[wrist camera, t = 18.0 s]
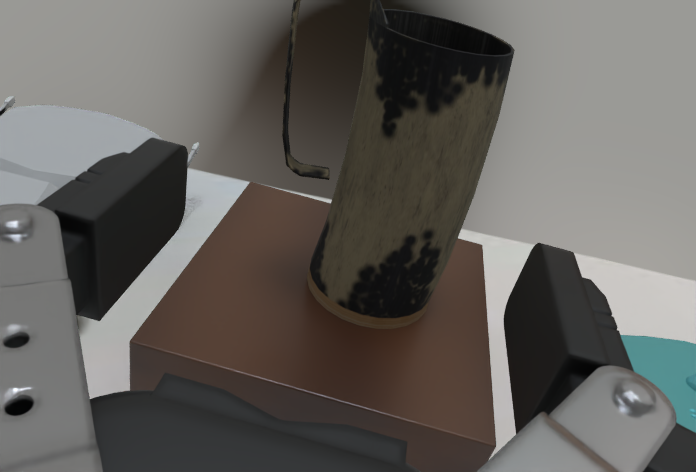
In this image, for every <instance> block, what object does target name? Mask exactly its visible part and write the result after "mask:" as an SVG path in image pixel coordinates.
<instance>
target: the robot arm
mask: <svg viewBox="0 0 696 472" xmlns="http://www.w3.org/2000/svg"><path fill="white" fill-rule="evenodd" d="M187 165H188V152H187V149H186V147H185V146H183V145H179V144H175V143H171V142H167V141H164V140H160V139H157V138H149V139H148V140H147V141H145V142H144V143H143V144H141V145H140V146H139V147H137V148H136V149H135V150H133V151H132V152H131V153H126V152H122V153H118V154H115V155H112V156H108V157H105V158H102V159H101V160H99V161H98V162H96V163H95V164H94V165H92V166H91V167H89V168H88V169H87V171H84V172H82V173H81V174H80V175H78V176H77V177H75V180H71V181H70V182H68V183H67V184H65V185H64V186H63V187H61V188H60V189H58V190H57V191H56V192H54V193H53V194H51V195H50V196H49V197H47V198H46V199H44V200H43V201H41V202H40V203H39V204H37V205H33V204H22V203H16V204H4V205H0V472H421V471H419V470H418V469H416V468H415V467H413V466H412V465H410V464H408V463H406V452H407V441H404V440H400V439H397V438H393V437H390V436H386V435H383V434H379V433H376V432H372V431H369V430H365V429H362V428H358V427H354V426H351V425H347V424H332V423H315V422H299V421H285V420H281V419H278V418H276V417H274V416H272V415H270V414H268V413H266V412H265V411H263V410H261V409H259V408H257V407H255V406H254V405H252V404H250V403H248V402H246V401H244V400H243V399H241V398H239V397H237V396H235V395H234V394H232V393H230V392H228V391H226V390H224V389H221V388H218V387H214V386H211V385H207V384H204V383H200V382H197V381H193V380H190V379H186V378H183V377H179V376H176V375H172V374H169V373H165V374H164V375H163V377H162V378H161V380H160V381H159V383H158V385H157V386H156V388H155V389H154V390H137V391H125V392H117V393H112V394H108V395H103V396H99V397H96V398H93V399H89V393H88V386H87V380H86V374H85V368H84V361H83V355H82V349H81V343H80V336H79V330H78V324H77V317H76V315H80V316H83V317H87V318H90V319H94V320H97V321H100V320H101V319H102V317H103V316H104V315H105V314H106V313H107V312H108V310H109V309H110V308H111V307H112V306H113V305H114V303H115V302H116V301H117V300H118V299H119V298H120V297H121V295H122V294H123V293H124V292H125V291H126V290H127V288H128V287H129V286H130V285H131V284H132V283H133V281H134V280H135V279H136V278H137V277H138V276H139V275H140V273H141V272H142V271H143V270H144V269H145V268H146V266H147V265H148V264H149V263H150V262H151V261H152V259H153V258H154V257H155V256H156V255H157V254H158V253H159V251H160V250H161V249H162V248H163V247H164V246H165V244H166V243H167V242H168V241H169V240H170V239H171V237H172V236H173V235H174V234H175V233H176V231H177V230H178V228H179V226H180V224H181V222H182V219H183V216H184V211H185V201H186V183H187ZM611 315H612V312H611V309H610V307H609V304H608V302H607V299H606V297H605V295H604V294H603V293H602V292H601V291H600V290H599V289H598V288H597V286H596V285H595V284H594V283H593V282H592V281H591V280H590V279H586V278H582V276H581V273H580V270H579V267H578V264H577V261H576V258H575V255H574V253H573V252H571V251H567V250H564V249H560V248H556V247H552V246H549V245H545V244H541V243H538V244H536V245H535V246H534V247H533V249H532V251H531V252H530V254H529V257H528V259H527V261H526V263H525V265H524V267H523V269H522V271H521V273H520V275H519V277H518V280H517V282H516V284H515V286H514V288H513V290H512V292H511V294H510V296H509V299H508V302H507V305H506V309H505V314H504V330H505V339H506V348H507V357H508V366H509V374H510V383H511V392H512V401H513V410H514V419H515V428H516V435H515V436H514V437H513V438H512V439H511V440H510V441H509V442H508V443H507V444H506V445H505V446H504V447H502V448H501V449H500V450H499V451H498V452H497V453H496V454H495V455H494V456H493V457H492V458H491V459H490V460H489V461H487V462H486V463H485V464H484V465H483V466H482V467H481V468H480V469H479V470H478V471H477V472H696V433H695V432H693V431H691V430H689V429H687V428H686V427H684V426H682V425H680V424H678V423H677V422H676V420H677V417H676V412H675V409H674V407H673V405H672V403H671V402H670V400H669V399H668V397H667V396H666V395H665V394H664V393H663V392H662V391H661V390H660V389H659V388H658V387H657V386H656V385H655V384H653V383H652V382H651V381H649V380H648V379H646V378H645V377H643V376H642V375H640V374H638V373H636V372H634V370H633V367H632V364H631V362H630V359H629V357H628V354H627V351H626V349H625V346H624V343H623V341H622V338H621V336H620V333H619V331H617V325H616V323H615V320H614V317H612V316H611Z"/></svg>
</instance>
